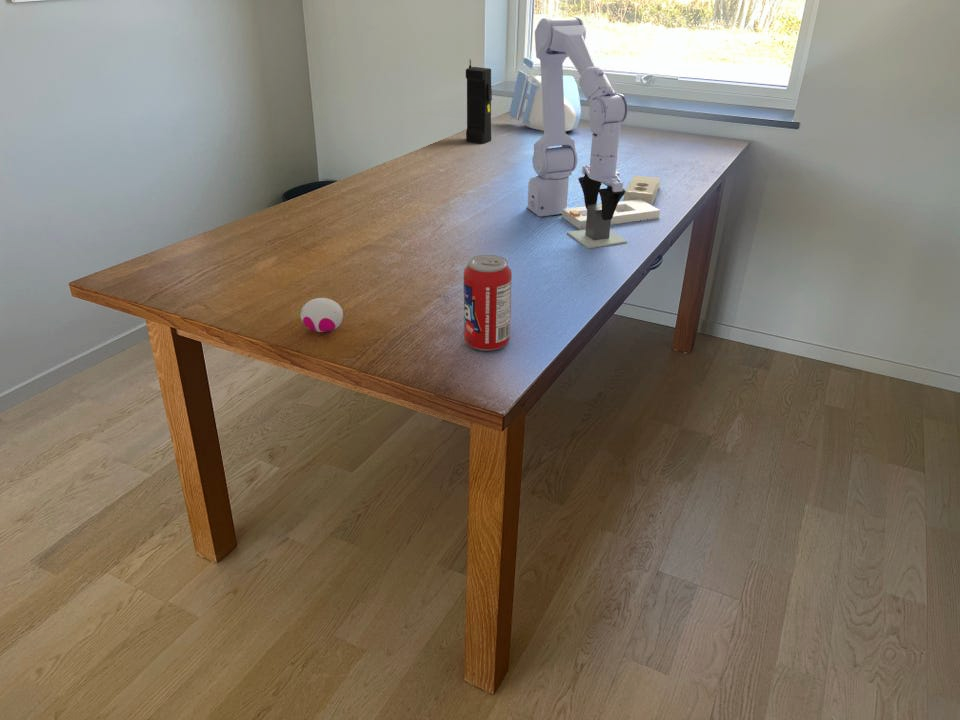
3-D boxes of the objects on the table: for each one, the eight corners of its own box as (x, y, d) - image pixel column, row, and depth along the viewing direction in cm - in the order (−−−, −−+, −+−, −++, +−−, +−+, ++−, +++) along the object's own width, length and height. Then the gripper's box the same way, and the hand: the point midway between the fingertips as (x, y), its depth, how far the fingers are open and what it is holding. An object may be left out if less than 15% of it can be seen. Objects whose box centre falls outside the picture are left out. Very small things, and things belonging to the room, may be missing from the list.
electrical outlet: (661, 174, 203) (653, 194, 188) (659, 189, 205) (651, 209, 190) (634, 172, 205) (624, 191, 190) (632, 186, 207) (622, 206, 192)
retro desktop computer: (522, 53, 251) (556, 48, 260) (508, 116, 267) (541, 109, 275) (571, 86, 239) (605, 80, 248) (553, 149, 255) (586, 141, 263)
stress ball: (302, 348, 133) (289, 331, 127) (312, 309, 137) (300, 290, 131) (343, 351, 132) (331, 333, 126) (352, 311, 135) (341, 292, 129)
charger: (593, 240, 169) (596, 210, 166) (585, 234, 172) (587, 205, 169) (609, 238, 170) (611, 208, 167) (600, 232, 174) (603, 203, 170)
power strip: (579, 229, 177) (580, 218, 175) (562, 216, 184) (562, 206, 182) (659, 217, 184) (660, 207, 182) (639, 206, 191) (640, 196, 189)
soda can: (506, 356, 125) (508, 273, 117) (459, 352, 126) (459, 269, 118) (512, 334, 131) (515, 254, 124) (468, 330, 133) (468, 251, 125)
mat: (587, 248, 166) (587, 246, 166) (567, 233, 174) (567, 231, 174) (626, 242, 169) (627, 241, 169) (604, 228, 177) (605, 226, 177)
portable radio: (495, 140, 247) (496, 60, 235) (485, 144, 243) (486, 62, 230) (474, 137, 251) (475, 58, 238) (465, 141, 246) (464, 60, 234)
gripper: (638, 160, 157) (631, 222, 164) (603, 143, 169) (598, 201, 176) (608, 163, 155) (602, 226, 162) (575, 146, 167) (571, 205, 174)
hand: (598, 213), depth 169 cm, fingers open, 7 cm apart
